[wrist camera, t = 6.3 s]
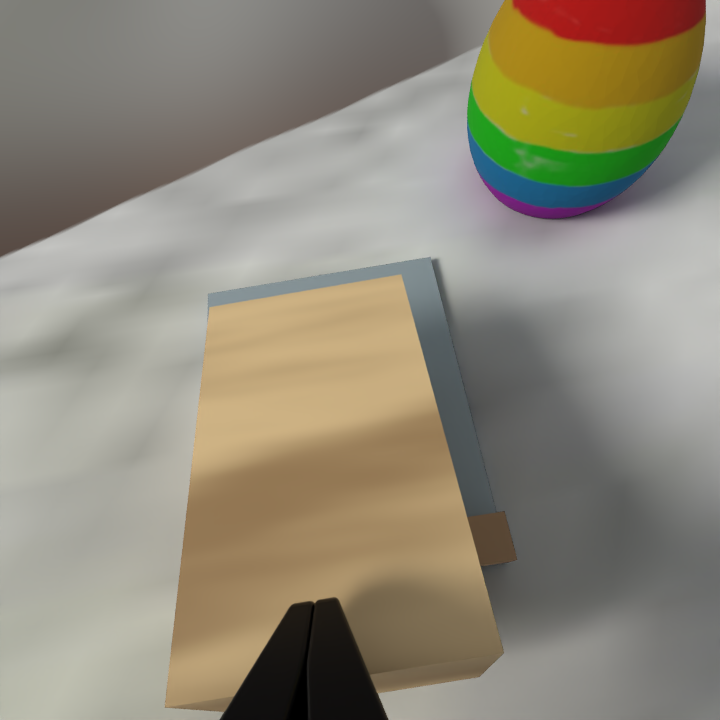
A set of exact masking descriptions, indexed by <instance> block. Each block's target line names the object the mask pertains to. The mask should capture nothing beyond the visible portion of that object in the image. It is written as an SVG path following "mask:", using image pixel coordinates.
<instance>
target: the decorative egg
mask: <svg viewBox="0 0 720 720" xmlns="http://www.w3.org/2000/svg"><path fill="white" fill-rule="evenodd" d="M705 25H706V0H505V1H504V2H503V4H502V6H501V8H500V10H499V11H498V13H497V15H496V17H495V19H494V20H493V23H492V25H491V27H490V29H489V32H488V34H487V36H486V38H485V40H484V43H483V45H482V48H481V51H480V54H479V57H478V60H477V64H476V67H475V70H474V74H473V78H472V82H471V87H470V93H469V99H468V109H467V130H468V139H469V145H470V151H471V154H472V158H473V161H474V164H475V167H476V169H477V171H478V173H479V175H480V177H481V179H482V180H483V182H484V183H485V185H486V186H487V188H488V189H489V190H490V191H491V192H492V194H493V195H494V196H495V197H496V198H497V199H498V200H499V201H500V202H502V203H503V204H505V205H506V206H507V207H509V208H511V209H513V210H515V211H517V212H520V213H522V214H525V215H529V216H532V217H538V218H551V219H556V218H565V217H570V216H576V215H578V214H581V213H584V212H587V211H590V210H592V209H595V208H597V207H599V206H601V205H603V204H605V203H606V202H608V201H610V200H612V199H613V198H615V197H616V196H618V195H619V194H621V193H622V192H623V191H625V190H626V189H627V188H628V187H630V186H631V185H632V184H633V183H634V182H635V181H636V180H637V179H639V178H640V177H641V176H642V175H643V173H644V172H645V171H646V170H647V169H648V168H649V167H650V166H651V165H652V163H653V162H654V161H655V160H656V159H657V157H658V156H659V155H660V153H661V152H662V150H663V149H664V148H665V146H666V144H667V143H668V141H669V140H670V138H671V137H672V135H673V133H674V131H675V129H676V127H677V125H678V124H679V122H680V120H681V118H682V116H683V113H684V111H685V109H686V106H687V104H688V102H689V99H690V96H691V93H692V90H693V87H694V84H695V81H696V77H697V74H698V71H699V66H700V61H701V56H702V51H703V46H704V35H705Z"/></svg>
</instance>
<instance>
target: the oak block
mask: <svg viewBox="0 0 720 720" xmlns="http://www.w3.org/2000/svg"><path fill="white" fill-rule="evenodd" d="M332 597H336V598H338V599H339V601H340V604H341V606H342V608H343V611H344V613H345V616H346V618H347V621H348V623H349V625H350V628H351V630H352V633H353V635H354V638H355V640H356V642H357V645H358V647H359V650H360V652H361V654H362V657H363V659H364V662H365V664H366V667H367V669H368V671H369V674H370V676H371V679H372V681H373V684H374V686H375V688H376V691H377V693H382V692H389V691H395V690H401V689H407V688H414V687H420V686H426V685H432V684H439V683H445V682H451V681H457V680H463V679H470V678H476V677H480V676H481V675H482V674H483V673H484V672H485V671H486V670H487V669H488V668H489V667H490V666H491V665H492V664H493V663H494V662H495V661H496V660H497V659H498V658H499V657H500V656H501V655H502V654H503V653H504V651H503V647H502V644H501V640H500V636H499V633H498V629H497V625H496V622H495V618H494V614H493V611H492V607H491V603H490V600H489V596H488V592H487V588H486V585H485V581H484V577H483V574H482V570H481V566H480V563H479V559H478V555H477V552H476V548H475V544H474V541H473V537H472V533H471V529H470V526H469V522H468V518H467V515H466V511H465V507H464V504H463V500H462V496H461V493H460V489H459V485H458V481H457V478H456V474H455V470H454V467H453V463H452V459H451V456H450V452H449V448H448V445H447V441H446V437H445V434H444V430H443V426H442V422H441V419H440V415H439V411H438V408H437V404H436V400H435V397H434V393H433V389H432V386H431V382H430V378H429V375H428V371H427V367H426V363H425V360H424V356H423V352H422V349H421V345H420V341H419V338H418V334H417V330H416V327H415V323H414V319H413V316H412V312H411V308H410V304H409V301H408V297H407V293H406V290H405V286H404V282H403V279H402V275H401V274H400V275H395V276H389V277H383V278H377V279H371V280H365V281H359V282H354V283H348V284H342V285H336V286H330V287H324V288H319V289H313V290H307V291H301V292H295V293H289V294H283V295H278V296H272V297H266V298H260V299H254V300H248V301H243V302H237V303H231V304H225V305H219V306H213V307H210V308H209V317H208V326H207V335H206V344H205V352H204V361H203V370H202V379H201V388H200V397H199V406H198V415H197V424H196V433H195V442H194V451H193V460H192V469H191V478H190V487H189V495H188V504H187V513H186V522H185V531H184V540H183V549H182V558H181V567H180V576H179V585H178V594H177V603H176V612H175V621H174V630H173V638H172V647H171V656H170V665H169V674H168V683H167V692H166V701H165V708H179V709H192V710H206V711H219V712H225V710H226V709H227V707H228V705H229V704H230V702H231V700H232V699H233V697H234V696H235V694H236V692H237V691H238V689H239V688H240V686H241V684H242V683H243V681H244V679H245V678H246V676H247V675H248V673H249V671H250V670H251V668H252V667H253V665H254V663H255V662H256V660H257V658H258V657H259V655H260V654H261V652H262V650H263V649H264V647H265V646H266V644H267V642H268V641H269V639H270V637H271V636H272V634H273V633H274V631H275V629H276V628H277V626H278V625H279V623H280V621H281V620H282V618H283V616H284V615H285V613H286V612H287V610H288V608H289V607H290V606H291V605H292V604H294V603H299V602H306V601H313V602H314V603H315V602H316V601H317V600H319V599H325V598H332Z"/></svg>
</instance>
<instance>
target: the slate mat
mask: <svg viewBox="0 0 720 720" xmlns="http://www.w3.org/2000/svg"><path fill="white" fill-rule="evenodd" d="M400 274H401V275H402V279H403V282H404V286H405V290H406V293H407V297H408V301H409V304H410V308H411V312H412V316H413V319H414V323H415V327H416V330H417V334H418V338H419V341H420V345H421V349H422V352H423V356H424V360H425V363H426V367H427V371H428V375H429V378H430V382H431V386H432V389H433V393H434V397H435V400H436V404H437V408H438V411H439V415H440V419H441V422H442V426H443V430H444V434H445V437H446V441H447V445H448V448H449V452H450V456H451V459H452V463H453V467H454V470H455V474H456V478H457V481H458V485H459V489H460V493H461V496H462V500H463V504H464V507H465V511H466V515H467V518H468V522H469V526H470V529H471V533H472V537H473V541H474V544H475V548H476V552H477V555H478V559H479V563H480V566H481V567H483V566H489V565H496V564H502V563H508V562H511V561H515V560H517V556H516V553H515V549H514V545H513V541H512V538H511V534H510V530H509V526H508V523H507V519H506V515H505V512H504V511H503V512H496V508H495V505H494V501H493V497H492V493H491V489H490V485H489V482H488V478H487V474H486V470H485V466H484V462H483V458H482V455H481V451H480V447H479V443H478V439H477V435H476V431H475V428H474V424H473V420H472V416H471V412H470V408H469V404H468V401H467V397H466V393H465V389H464V385H463V381H462V378H461V374H460V370H459V366H458V362H457V358H456V354H455V351H454V347H453V343H452V339H451V335H450V331H449V327H448V324H447V320H446V316H445V312H444V308H443V304H442V300H441V297H440V293H439V289H438V285H437V281H436V277H435V273H434V270H433V266H432V262H431V258H430V257H428V258H422V259H416V260H410V261H404V262H398V263H392V264H386V265H380V266H373V267H367V268H361V269H355V270H349V271H343V272H337V273H331V274H325V275H319V276H313V277H307V278H301V279H295V280H289V281H283V282H277V283H271V284H265V285H259V286H252V287H246V288H240V289H234V290H228V291H222V292H216V293H210V294H208V317H209V308H210V307H213V306H219V305H225V304H231V303H237V302H243V301H248V300H254V299H260V298H266V297H272V296H278V295H283V294H289V293H295V292H301V291H307V290H313V289H319V288H324V287H330V286H336V285H342V284H348V283H354V282H359V281H365V280H371V279H377V278H383V277H389V276H395V275H400Z"/></svg>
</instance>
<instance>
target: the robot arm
mask: <svg viewBox="0 0 720 720" xmlns="http://www.w3.org/2000/svg"><path fill="white" fill-rule="evenodd" d="M220 720H388V717H387V715H386V713H385V710H384V708H383V705H382V703H381V701H380V698H379V696H378V693H377V691H376V688H375V686H374V684H373V681H372V679H371V676H370V674H369V671H368V669H367V667H366V664H365V662H364V659H363V657H362V654H361V652H360V650H359V647H358V645H357V642H356V640H355V638H354V635H353V633H352V630H351V628H350V625H349V623H348V621H347V618H346V616H345V613H344V611H343V608H342V606H341V604H340V601H339V599H338V598H336V597H332V598H325V599H319V600H317V601H316V602H315V603H314V602H313V601H306V602H299V603H294V604H292V605H291V606H290V607H289V608H288V610H287V612H286V613H285V615H284V616H283V618H282V620H281V621H280V623H279V625H278V626H277V628H276V629H275V631H274V633H273V634H272V636H271V637H270V639H269V641H268V642H267V644H266V646H265V647H264V649H263V650H262V652H261V654H260V655H259V657H258V658H257V660H256V662H255V663H254V665H253V667H252V668H251V670H250V671H249V673H248V675H247V676H246V678H245V679H244V681H243V683H242V684H241V686H240V688H239V689H238V691H237V692H236V694H235V696H234V697H233V699H232V700H231V702H230V704H229V705H228V707H227V709H226V710H225V712H224V713H223V715H222V717H221V718H220Z"/></svg>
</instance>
